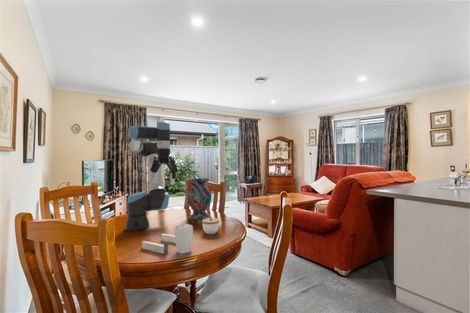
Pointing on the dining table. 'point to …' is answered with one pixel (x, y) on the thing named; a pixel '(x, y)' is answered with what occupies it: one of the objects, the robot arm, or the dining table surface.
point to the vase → (199, 198)
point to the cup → (183, 238)
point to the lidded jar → (210, 225)
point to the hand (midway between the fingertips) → (164, 183)
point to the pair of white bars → (159, 247)
